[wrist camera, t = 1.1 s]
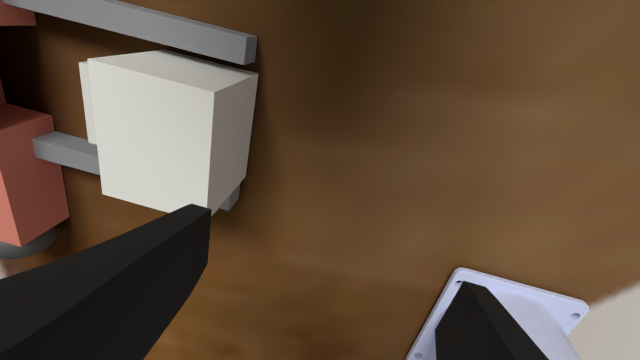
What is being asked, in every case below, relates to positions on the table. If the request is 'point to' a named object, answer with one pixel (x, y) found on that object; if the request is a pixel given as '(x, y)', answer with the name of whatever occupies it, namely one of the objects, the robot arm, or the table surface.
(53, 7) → the forklift
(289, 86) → the table surface
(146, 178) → the white block
